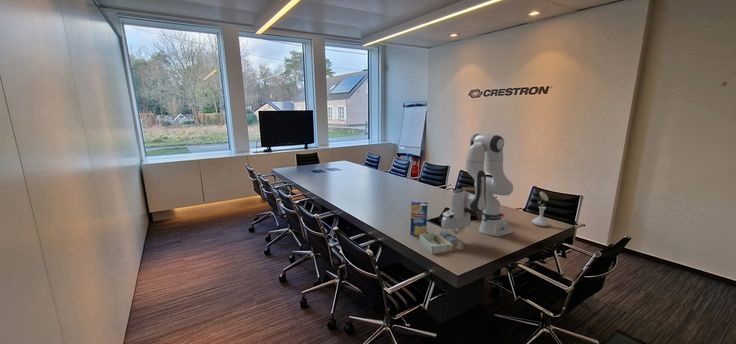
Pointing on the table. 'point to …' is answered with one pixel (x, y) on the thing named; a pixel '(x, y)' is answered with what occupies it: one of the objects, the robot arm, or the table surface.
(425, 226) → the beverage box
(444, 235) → the tile
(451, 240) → the tile
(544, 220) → the flower in vase
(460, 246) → the beige shallow box
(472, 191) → the photo frame
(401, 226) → the table surface
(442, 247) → the tray
